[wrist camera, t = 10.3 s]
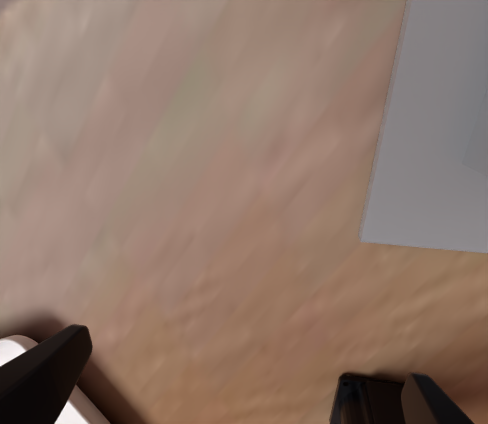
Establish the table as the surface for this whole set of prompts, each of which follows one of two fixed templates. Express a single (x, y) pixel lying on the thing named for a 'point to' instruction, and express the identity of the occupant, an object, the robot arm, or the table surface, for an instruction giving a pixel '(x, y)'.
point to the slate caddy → (434, 133)
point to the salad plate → (78, 405)
